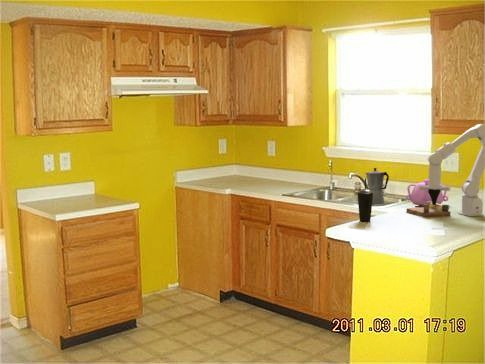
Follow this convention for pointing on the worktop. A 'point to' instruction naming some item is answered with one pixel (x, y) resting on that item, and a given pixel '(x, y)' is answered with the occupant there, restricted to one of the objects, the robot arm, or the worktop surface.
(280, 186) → the worktop surface
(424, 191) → the teapot
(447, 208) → the birch leg
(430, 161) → the robot arm
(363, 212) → the drinking cup
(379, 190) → the moka pot
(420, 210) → the walnut stool seat
